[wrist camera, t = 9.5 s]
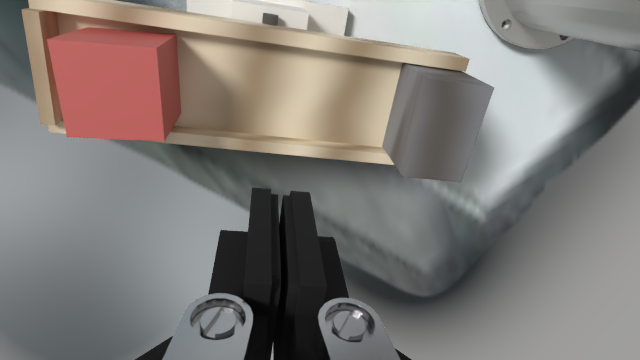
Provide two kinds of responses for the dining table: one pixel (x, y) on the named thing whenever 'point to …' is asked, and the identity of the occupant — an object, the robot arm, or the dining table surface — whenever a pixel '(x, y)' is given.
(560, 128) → the dining table surface
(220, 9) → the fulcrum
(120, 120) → the block
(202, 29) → the beam
